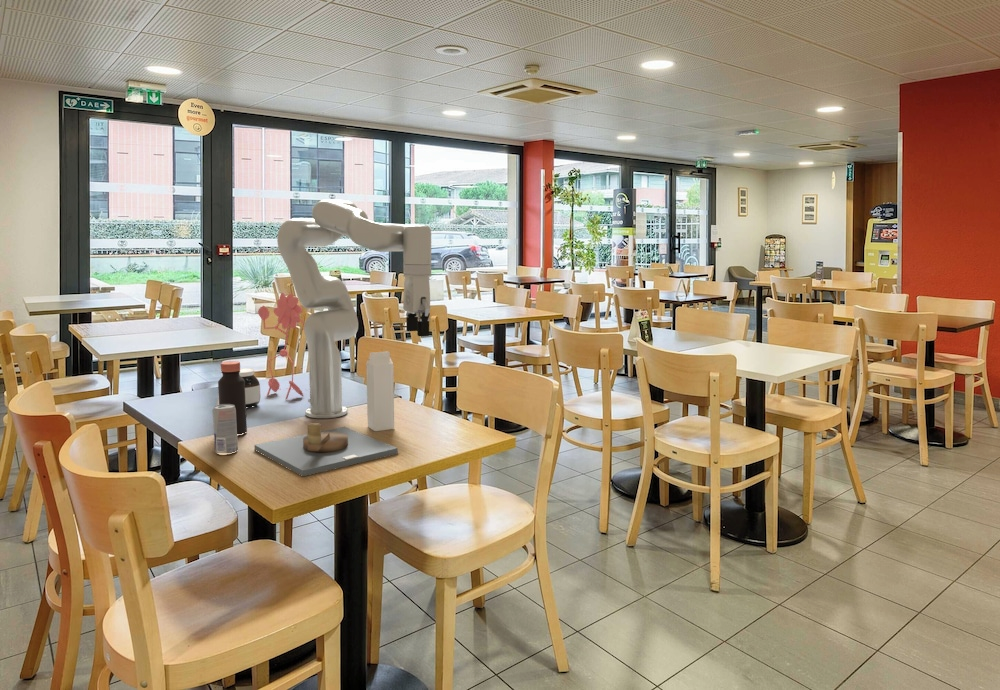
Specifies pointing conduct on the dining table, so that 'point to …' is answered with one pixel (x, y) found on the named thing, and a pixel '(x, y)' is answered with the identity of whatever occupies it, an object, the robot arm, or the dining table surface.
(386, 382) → the milk
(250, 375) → the spread jar
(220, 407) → the energy drink
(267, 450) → the base plate
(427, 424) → the dining table surface
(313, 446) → the dial
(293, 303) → the pink flower figure
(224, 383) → the bottle
